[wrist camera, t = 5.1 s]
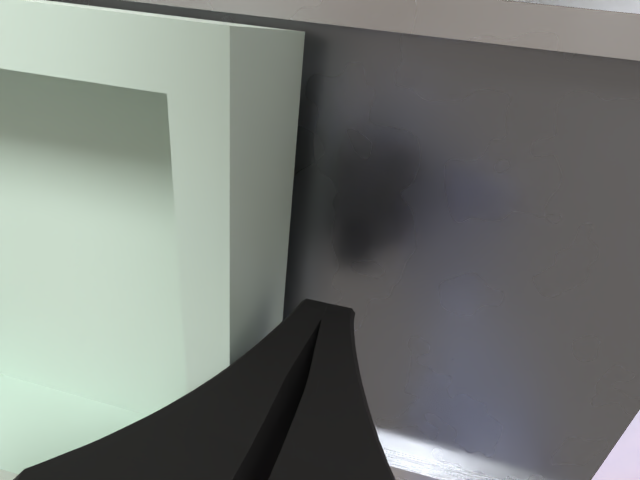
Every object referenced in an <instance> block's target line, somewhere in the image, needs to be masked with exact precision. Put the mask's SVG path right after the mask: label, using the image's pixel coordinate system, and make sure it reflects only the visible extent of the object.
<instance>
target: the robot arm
mask: <svg viewBox="0 0 640 480" xmlns="http://www.w3.org/2000/svg"><path fill="white" fill-rule="evenodd" d="M354 318H355V312H354V311H353V309H352V308H348V307H343V306H339V305H334V304H330V303H325V302H321V301H316V300H311V299H307V298H306V299H304V300H303V301H301V303H300V304H299V305H298V306H297V307H296V308H295V309H294V310H293V311H292V312H291V313H290V314H289V315H288V316H287V317H286V318H285V319H284V320H283V321H282V322H281V323H280V324H279V325H278V326H277V327H276V328H275V329H273V330H272V331H271V332H270V333H269V334H268V335H267V336H266V337H264V338H263V339H262V340H261V341H260V342H259V343H258V344H256V345H255V346H254V347H253V348H252V349H250V350H249V351H248V352H246V353H245V354H244V355H243V356H241V357H240V358H239V359H238V360H236V361H235V362H234V363H232V364H231V365H230V366H228V367H227V368H226V369H224V370H223V371H221V372H220V373H219V374H217V375H216V376H214V377H213V378H211V379H210V380H208V381H207V382H205V383H204V384H202V385H201V386H199V387H197V388H196V389H194V390H193V391H191V392H189V393H188V394H186V395H184V396H182V397H181V398H179V399H177V400H176V401H174V402H172V403H171V404H169V405H167V406H165V407H163V408H162V409H160V410H158V411H156V412H154V413H152V414H150V415H149V416H146V417H144V418H142V419H140V420H138V421H136V422H134V423H132V424H130V425H128V426H126V427H124V428H122V429H120V430H118V431H116V432H114V433H112V434H110V435H107V436H105V437H103V438H101V439H99V440H96V441H94V442H92V443H89V444H87V445H84V446H82V447H79V448H77V449H74V450H72V451H69V452H67V453H64V454H62V455H59V456H57V457H54V458H52V459H49V460H47V461H44V462H42V463H39V464H36V465H34V466H31V467H28V468H25V469H24V470H23V471H22V472H21V473H20V474H19V475H17V476H16V477H15V478H14V479H13V480H396V479H395V477H394V475H393V473H392V470H391V468H390V466H389V463H388V461H387V458H386V456H385V453H384V450H383V448H382V445H381V443H380V440H379V437H378V434H377V431H376V428H375V425H374V423H373V419H372V416H371V413H370V410H369V406H368V403H367V399H366V395H365V392H364V388H363V384H362V379H361V375H360V370H359V365H358V359H357V354H356V347H355V336H354Z"/></svg>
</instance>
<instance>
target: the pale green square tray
mask: <svg viewBox="0 0 640 480" xmlns="http://www.w3.org/2000/svg"><path fill="white" fill-rule="evenodd" d="M304 39H305V32H304V31H295V30H287V29H279V28H270V27H262V26H254V25H246V24H237V23H229V22H221V21H213V20H204V19H196V18H188V17H180V16H171V15H163V14H155V13H147V12H138V11H130V10H122V9H113V8H105V7H97V6H89V5H80V4H72V3H64V2H56V1H47V0H0V480H13V479H14V478H15V477H16V476H17V475H19V474H20V473H21V472H22V471H23V470H24V469H25V468H28V467H31V466H34V465H36V464H39V463H42V462H44V461H47V460H49V459H52V458H54V457H57V456H59V455H62V454H64V453H67V452H69V451H72V450H74V449H77V448H79V447H82V446H84V445H87V444H89V443H92V442H94V441H96V440H99V439H101V438H103V437H105V436H107V435H110V434H112V433H114V432H116V431H118V430H120V429H122V428H124V427H126V426H128V425H130V424H132V423H134V422H136V421H138V420H140V419H142V418H144V417H146V416H149V415H150V414H152V413H154V412H156V411H158V410H160V409H162V408H163V407H165V406H167V405H169V404H171V403H172V402H174V401H176V400H177V399H179V398H181V397H182V396H184V395H186V394H188V393H189V392H191V391H193V390H194V389H196V388H197V387H199V386H201V385H202V384H204V383H205V382H207V381H208V380H210V379H211V378H213V377H214V376H216V375H217V374H219V373H220V372H221V371H223V370H224V369H226V368H227V367H228V366H230V365H231V364H232V363H234V362H235V361H236V360H238V359H239V358H240V357H241V356H243V355H244V354H245V353H246V352H248V351H249V350H250V349H252V348H253V347H254V346H255V345H256V344H258V343H259V342H260V341H261V340H262V339H263V338H264V337H266V336H267V335H268V334H269V333H270V332H271V331H272V330H273V329H275V328H276V327H277V326H278V325H279V324H280V323H281V322H282V320H283V307H284V294H285V282H286V269H287V256H288V243H289V231H290V218H291V205H292V192H293V180H294V167H295V154H296V141H297V128H298V116H299V103H300V90H301V77H302V65H303V52H304Z"/></svg>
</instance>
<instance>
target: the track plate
mask: <svg viewBox="0 0 640 480" xmlns="http://www.w3.org/2000/svg"><path fill="white" fill-rule="evenodd" d="M47 1H56V2H64V3H72V4H80V5H89V6H97V7H105V8H113V9H122V10H130V11H138V12H147V13H155V14H163V15H171V16H180V17H188V18H196V19H204V20H213V21H221V22H229V23H237V24H246V25H254V26H262V27H270V28H279V29H287V30H295V31H304V32H305V39H304V52H303V65H302V77H301V90H300V103H299V116H298V128H297V141H296V154H295V167H294V180H293V192H292V205H291V218H290V231H289V243H288V256H287V269H286V282H285V294H284V307H283V320H284V319H285V318H286V317H287V316H288V315H289V314H290V313H291V312H292V311H293V310H294V309H295V308H296V307H297V306H298V305H299V304H300V303H301V301H303V300H304V299H306V298H307V299H311V300H316V301H321V302H325V303H330V304H334V305H339V306H343V307H348V308H352V309H353V311H354V312H355V318H354V336H355V347H356V354H357V359H358V365H359V370H360V375H361V379H362V384H363V388H364V392H365V395H366V399H367V403H368V406H369V410H370V413H371V416H372V419H373V423H374V425H375V428H376V431H377V434H378V437H379V440H380V443H381V445H382V448H383V450H384V453H385V456H386V458H387V461H388V463H389V466H390V468H391V470H392V473H393V475H394V477H395V479H396V480H591V479H592V478H593V476H594V475H595V473H596V472H597V470H598V469H599V468H600V466H601V465H602V463H603V462H604V460H605V459H606V457H607V456H608V455H609V453H610V452H611V450H612V449H613V447H614V446H615V444H616V443H617V442H618V440H619V439H620V437H621V436H622V434H623V433H624V431H625V430H626V429H627V427H628V426H629V424H630V423H631V421H632V420H633V418H634V417H635V415H636V414H637V413H638V411H639V410H640V14H633V13H623V12H613V11H603V10H593V9H584V8H574V7H564V6H554V5H544V4H534V3H524V2H515V1H505V0H47ZM283 320H282V321H283Z"/></svg>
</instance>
